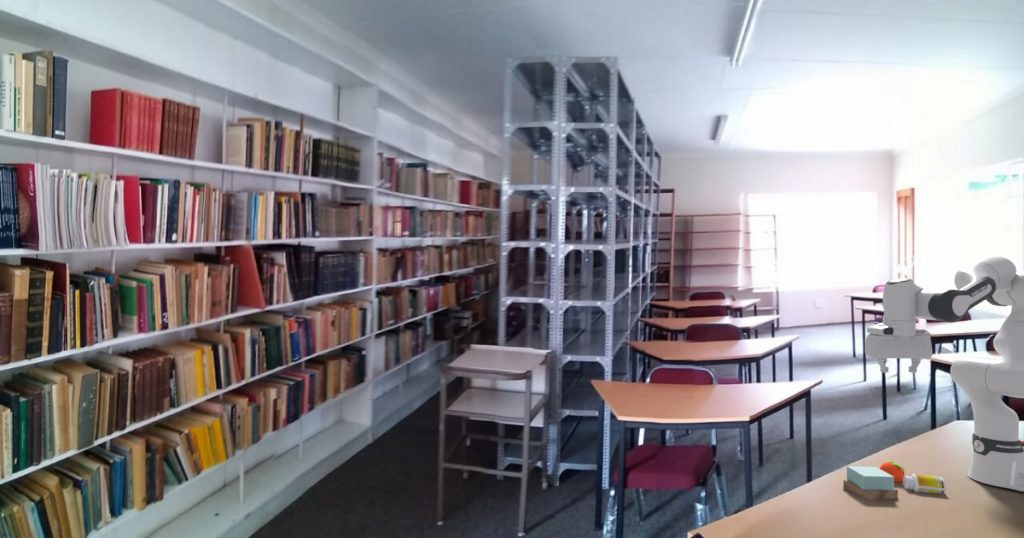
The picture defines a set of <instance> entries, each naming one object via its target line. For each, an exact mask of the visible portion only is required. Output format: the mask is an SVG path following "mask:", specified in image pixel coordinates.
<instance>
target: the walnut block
mask: <svg viewBox="0 0 1024 538" xmlns="http://www.w3.org/2000/svg"><path fill="white" fill-rule="evenodd" d="M842 489H844V490H846V491H848V492H850V493H853V494H854V495H857V496H859V497H861V498H863V499H865V500H867V501H869V502H873V501H882V500H883V501H885V500H894V499H898V497H899V496H898V495H899V493H898V491H899V490H898V488H895V487H894V490H864V489H862V488H860V487H859V486H857V485H856V484H854V483H853V482H851V481H849V480H848V479H843V488H842Z"/></svg>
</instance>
